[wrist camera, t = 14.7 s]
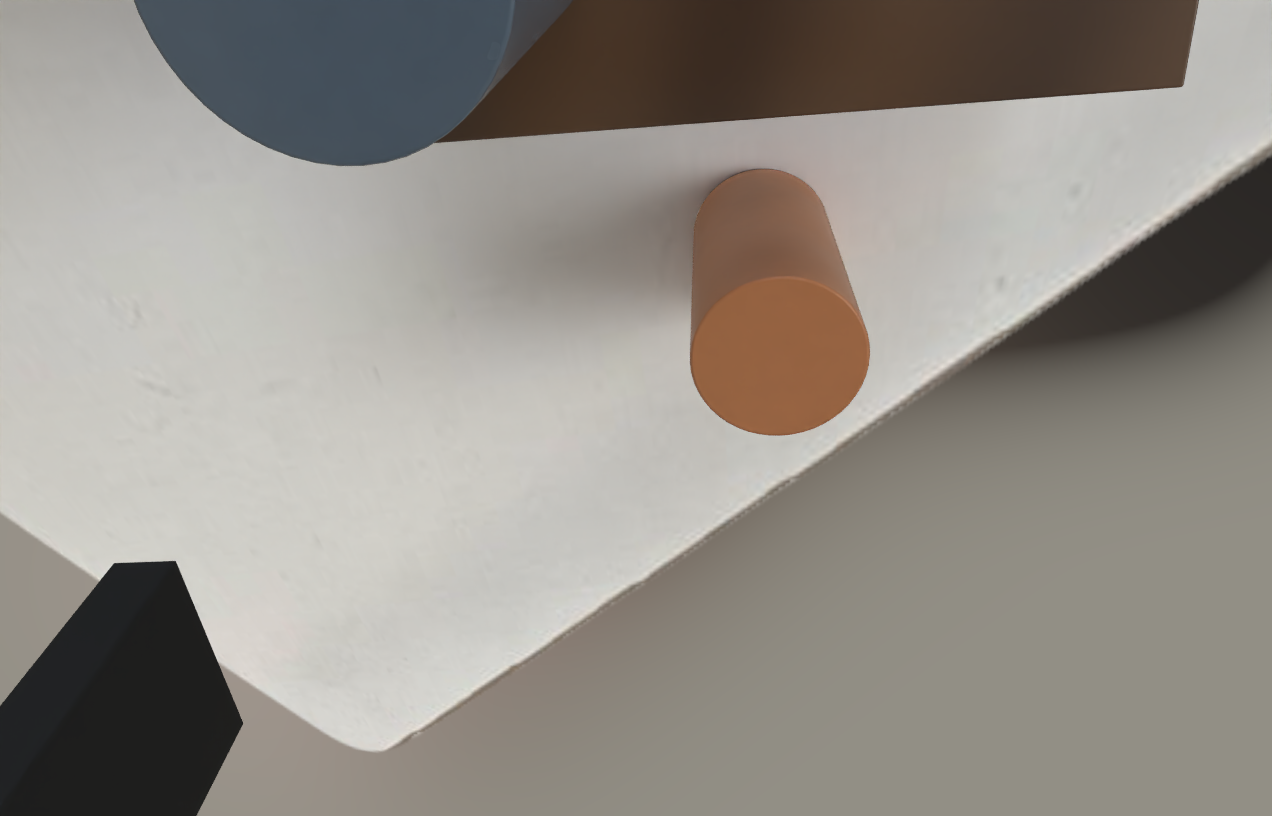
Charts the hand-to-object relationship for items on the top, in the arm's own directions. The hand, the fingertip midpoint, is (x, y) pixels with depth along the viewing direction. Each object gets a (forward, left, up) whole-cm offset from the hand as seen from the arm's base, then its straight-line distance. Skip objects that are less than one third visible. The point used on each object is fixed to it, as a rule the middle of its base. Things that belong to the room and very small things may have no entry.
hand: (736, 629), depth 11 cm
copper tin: (+1, -4, -25) cm, 25 cm away
